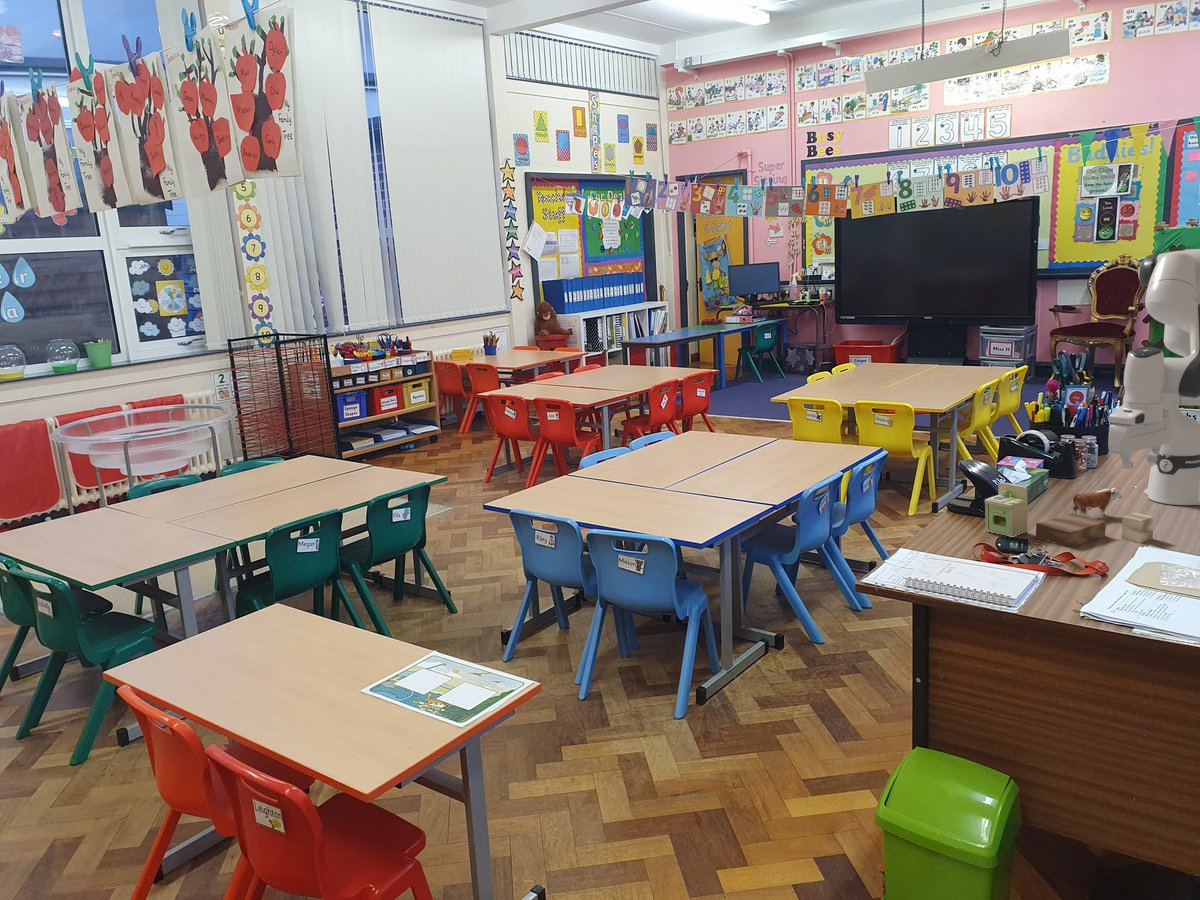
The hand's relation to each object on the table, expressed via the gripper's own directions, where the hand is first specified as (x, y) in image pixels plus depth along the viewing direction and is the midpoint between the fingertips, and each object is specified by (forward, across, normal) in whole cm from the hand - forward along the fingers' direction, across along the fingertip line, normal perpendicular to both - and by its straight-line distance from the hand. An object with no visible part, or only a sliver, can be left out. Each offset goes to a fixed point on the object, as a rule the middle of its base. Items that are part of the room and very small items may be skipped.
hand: (1139, 465), depth 228 cm
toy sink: (+20, +20, -24) cm, 37 cm away
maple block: (+20, 0, 0) cm, 20 cm away
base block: (+20, +11, -11) cm, 25 cm away
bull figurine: (+20, -9, -18) cm, 28 cm away
